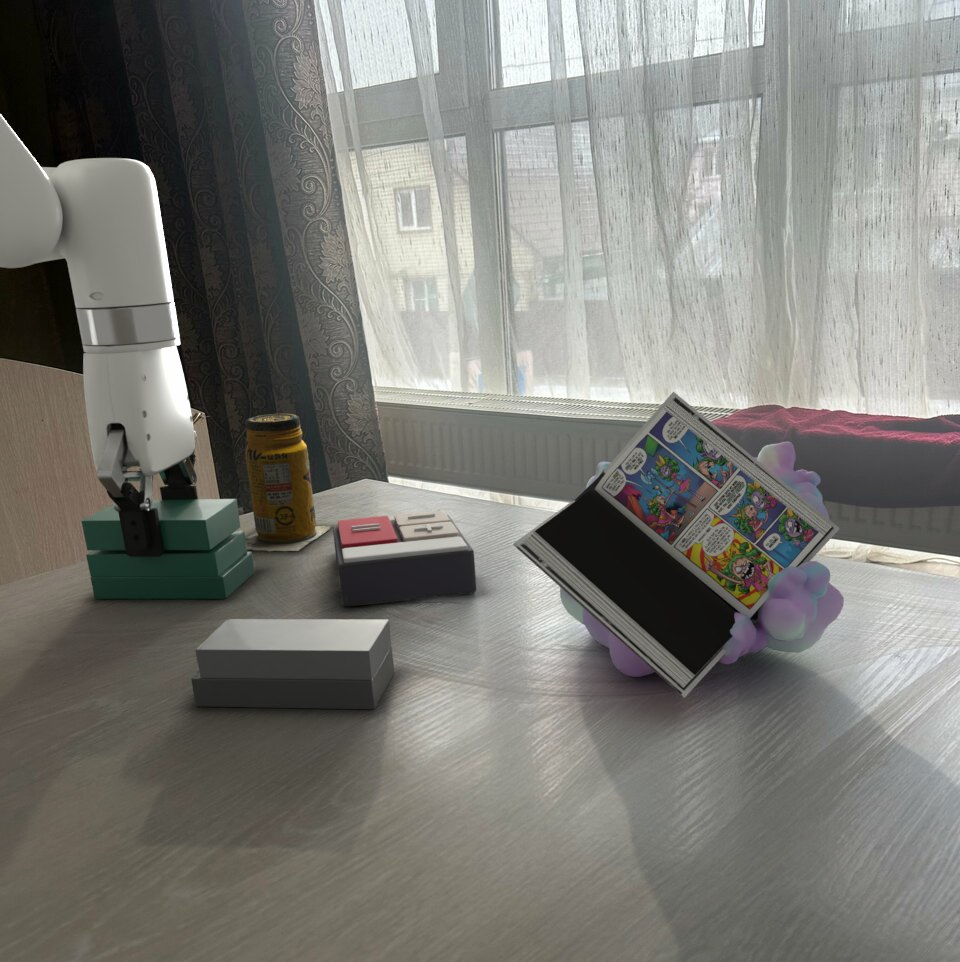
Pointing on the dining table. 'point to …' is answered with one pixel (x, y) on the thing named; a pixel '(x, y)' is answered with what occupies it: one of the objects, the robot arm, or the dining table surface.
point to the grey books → (295, 664)
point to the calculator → (402, 558)
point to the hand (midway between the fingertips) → (165, 540)
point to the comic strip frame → (691, 551)
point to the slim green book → (170, 524)
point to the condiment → (280, 484)
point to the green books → (172, 572)
